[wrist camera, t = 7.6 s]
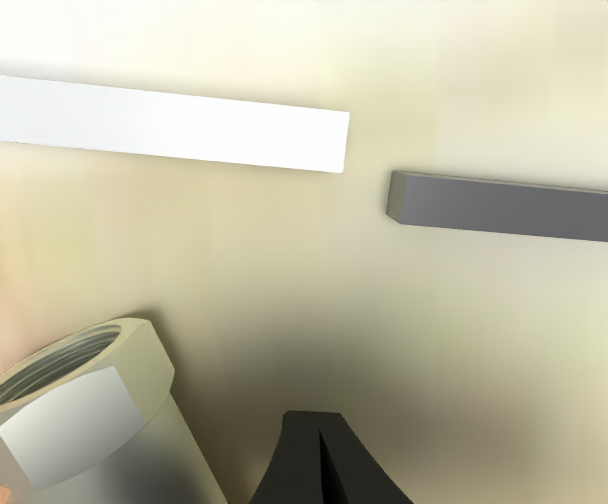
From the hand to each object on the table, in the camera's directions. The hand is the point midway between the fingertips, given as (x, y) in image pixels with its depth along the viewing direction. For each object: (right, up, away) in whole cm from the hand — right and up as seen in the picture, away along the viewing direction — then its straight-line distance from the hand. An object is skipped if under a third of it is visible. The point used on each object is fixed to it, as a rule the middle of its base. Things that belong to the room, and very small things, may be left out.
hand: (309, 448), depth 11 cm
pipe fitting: (-5, -1, +1) cm, 6 cm away
